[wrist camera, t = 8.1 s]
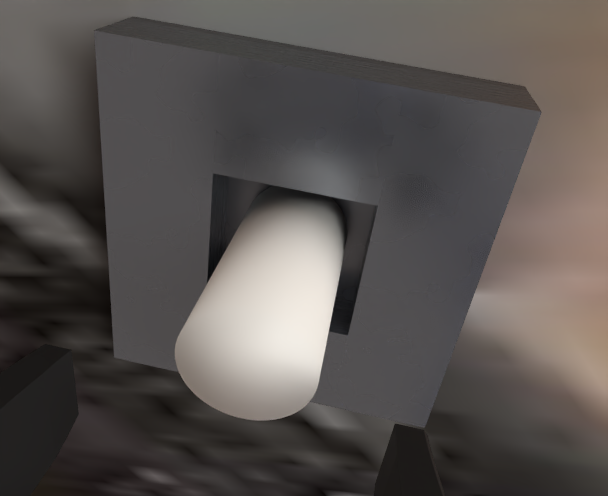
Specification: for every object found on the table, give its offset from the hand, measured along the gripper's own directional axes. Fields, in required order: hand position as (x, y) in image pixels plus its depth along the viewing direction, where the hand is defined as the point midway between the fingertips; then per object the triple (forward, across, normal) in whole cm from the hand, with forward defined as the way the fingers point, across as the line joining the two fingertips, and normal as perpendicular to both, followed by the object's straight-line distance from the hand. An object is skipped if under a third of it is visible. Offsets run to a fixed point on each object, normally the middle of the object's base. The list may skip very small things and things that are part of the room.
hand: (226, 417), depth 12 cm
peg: (+9, 0, 0) cm, 9 cm away
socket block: (+9, 0, 0) cm, 9 cm away
